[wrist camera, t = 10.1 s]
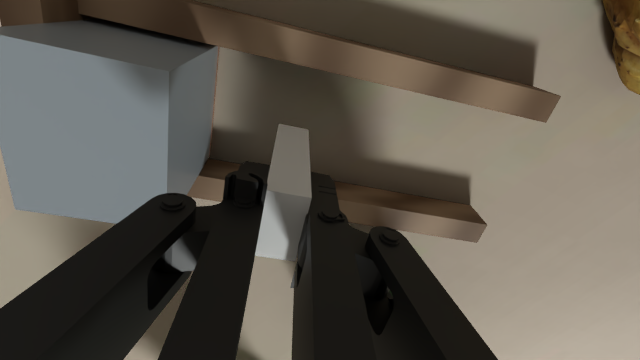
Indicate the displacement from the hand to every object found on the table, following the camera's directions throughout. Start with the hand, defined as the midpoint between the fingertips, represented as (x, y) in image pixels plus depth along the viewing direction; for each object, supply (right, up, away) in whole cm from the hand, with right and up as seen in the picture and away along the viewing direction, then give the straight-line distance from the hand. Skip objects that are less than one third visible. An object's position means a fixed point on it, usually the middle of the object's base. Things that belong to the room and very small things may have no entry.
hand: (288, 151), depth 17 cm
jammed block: (-8, +4, +3) cm, 9 cm away
